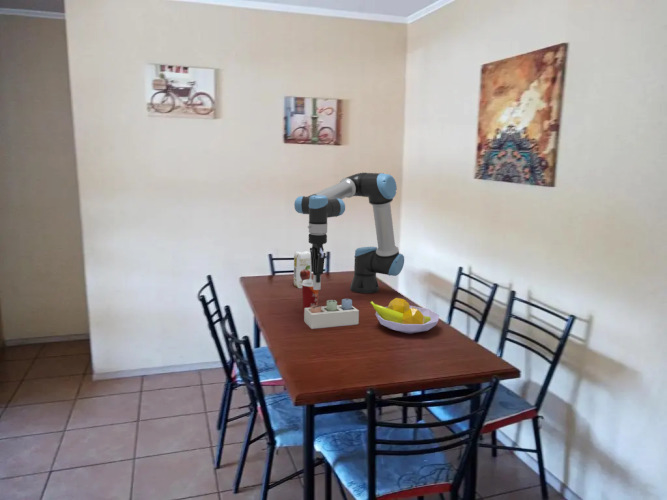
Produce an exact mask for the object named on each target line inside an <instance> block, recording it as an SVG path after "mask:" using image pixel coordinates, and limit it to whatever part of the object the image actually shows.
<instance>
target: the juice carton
mask: <svg viewBox="0 0 667 500" xmlns="http://www.w3.org/2000/svg"><path fill="white" fill-rule="evenodd" d="M312 273H313V271H312V268H311V253H310V251H308V250H305V251H294V256H293V284H294V287H296V288H297V289H302V281H303V280H307V279H312Z"/></svg>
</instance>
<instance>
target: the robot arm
mask: <svg viewBox="0 0 667 500" xmlns="http://www.w3.org/2000/svg"><path fill="white" fill-rule="evenodd" d="M397 189H398V188H397V182H396V180H395V177H393V176H392V175H391V174H388V173H384V172H383V173H382V172H379V173H376V172H374V173H373V172H359V173H354V174H352V175H349V176H347V177H343V178H342V179H340V181H339V182H338V183H336V184H334V185H331V186H329V187H326V188H324V189H322V190H320V191H318V192H315V193H313V194H310V195H308V196H305V195H304V196H303V195H300V196H297V197H296V198H295V200H294V202H293V203H294V204H293V205H294V210H295V212H296V213H298V214H302V215H308V225H307V228H308V233H309V234H308V243H309V244H311V247H309V252H310V253H311V268H312V274H313V275H312V276H313V278H312V279H313V289H314V290H322V289H321V285H322V284H321V283H322V279H321V278H322V275H324V266H325V259H326V252H324V246H323V245H324V244H327V243H328V218H334V217H335V218H337V217H339V216H342V215H343V214H344V213H345V211H346V204H345V202H344V200H343V199H345V198H347V199H348V198H349V199H350V198H353V197H363V198H368V203H369V204H370V205H372V209H373V210H372V212H373V217H374V219H373V220H374V227H375V233H376V240H377V246H364V247H363V246H362V247H358V248H356V249H355V250H354V267H353V269H354V271H353V277H352V281H351V283H350V287H349V288H350V291H351V292H354V293H358V294H374V293H378V292H379V290H380V285H379V282H378V278H377V274H381V275H387V276H392V277H394V276H395V277H396V276H398V275H400V274H401V273H402V271H403V268H404V265H405V256H404V255H403V253H400V252H399V247H397V245H396V243H395V234H394V226H393V225H394V223H393V217H392V215H393V214H392V208H391V207H392V206H391V203H392V202H393V200H394V198H395V197H396V194H397Z"/></svg>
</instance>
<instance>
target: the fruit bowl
mask: <svg viewBox="0 0 667 500" xmlns="http://www.w3.org/2000/svg"><path fill="white" fill-rule="evenodd" d="M369 304H370V305H372V307H373V309H374V310H375V314H374V315H375V316H376V318H377V321H379V324H380V325H381V326H384V327H386V328H387V329H390V330H394V331H397V332H400V333H405V334H414V333H415V334H417V333H421V332H427V331H429V330H431V329H433V328H434V327H435V326H437V325H438V322H439V319H440V314H438V313H437V312H435V311H432V310H431V309H430V308H423V307H419V306H414V305H410V302H408V301H407V300H406V299H404V298H399V297H395V298H394V299H391V300H390V302H389V303H388V306H383V305H379V304H377V303H375V302H374V301H372V300H371V301H370V303H369Z"/></svg>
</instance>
